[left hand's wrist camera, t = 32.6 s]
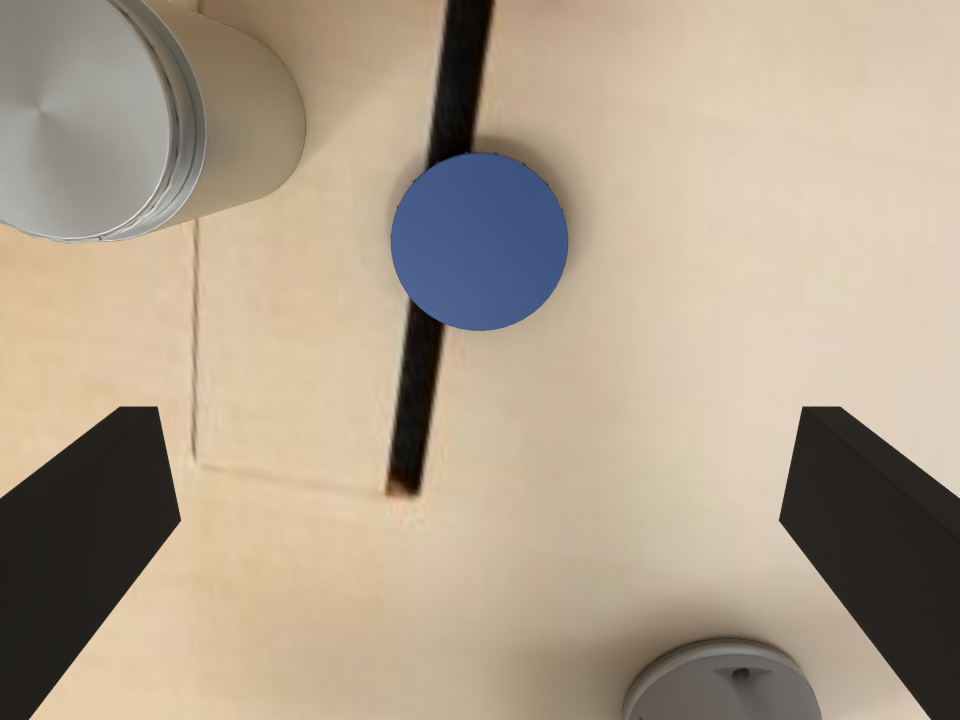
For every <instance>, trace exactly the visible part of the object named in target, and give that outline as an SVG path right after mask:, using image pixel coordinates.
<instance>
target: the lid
mask: <svg viewBox="0 0 960 720" xmlns="http://www.w3.org/2000/svg"><path fill="white" fill-rule="evenodd" d="M412 183H413V184H412V185H411V187H410V188H409V189H408V191H407V192H406V193H405V195H404V197H403V199H402V200H401V202H400V204H399V205H398V206H397V208H398V209H397V212H396V214H395V217H394V222H393V226H392V234H391V251H392V258H393V263H394V266H395V270H396V273H397V275H398V278H399V280H400V282H401V284H402V286H403V287H404V289H405V291H406V292H407V294H408V295H409V296H410V297H411V299H412V300H413V301H414V302H415V303H416V304H417V305H418V306H419V307H420V308H421V309H422V310H423V311H425V312H426V313H427V314H428V315H430V316H431V317H433V318H435V319H437V320H438V321H440V322H442V323H445V324H447V325H449V326H453V327H456V328H460V329H465V330H472V331H485V330H494V329H499V328H503V327H506V326H509V325H512V324H515V323H517V322H519V321H521V320H523V319H524V318H526V317H527V316H529V315H530V314H532V313H533V312H535V311H536V310H537V309H538V308H539V307H540V306H541V305H542V304H543V303H544V302H545V301H546V300H547V299H548V298H549V296H550V295H551V293H552V292H553V290H554V289H555V287H556V286H557V284H558V282H559V280H560V278H561V275H562V272H563V269H564V267H565V262H566V258H567V249H568V234H567V227H566V222H565V218H564V215H563V209H562V208H561V207H560V205H559V203H558V201H557V198H556V197H555V195H554V194H553V192H552V191H551V189H550V188H549V187H548V183H546V182H544V181H543V180H542V179H541V178H540V177H539V176H538V175H537V174H535V173H534V172H533V171H532V170H531V169H529V168H528V167H526V164H524V163H523V162H522V163H520V162H518V161H516V160H514V159H511V158H509V157H506V156H503V155H500V154H497V152H495V154H494V153H488V152H472V153H467V152H465V153H464V154H460V155H456V156H453V157H450V158H448V159H445V160H443V161H441V162H440V161H438V162H436V165H434V166H433V167H431V168H430V169H429V170H427V171H426V172H425V173H423V174H422V175H421V176H420V177H419V178H418V179H415V180H414V181H413V182H412Z"/></svg>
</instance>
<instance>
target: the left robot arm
mask: <svg viewBox="0 0 960 720" xmlns="http://www.w3.org/2000/svg"><path fill="white" fill-rule="evenodd" d="M180 521H181V518H180V513H179V508H178V503H177V498H176V493H175V489H174V484H173V479H172V474H171V469H170V465H169V460H168V455H167V450H166V445H165V440H164V436H163V431H162V426H161V421H160V416H159V411H158V407H119V408H117V409H116V410H115V411H113V412H112V413H111V414H110V415H108V416H107V417H106V418H104V419H103V420H102V421H100V422H99V423H98V424H96V425H95V426H94V427H93V428H91V429H90V430H89V431H87V432H86V433H85V434H83V435H82V436H81V437H80V438H78V439H77V440H76V441H74V442H73V443H72V444H70V445H69V446H68V447H67V448H65V449H64V450H63V451H61V452H60V453H59V454H57V455H56V456H55V457H54V458H52V459H51V460H50V461H48V462H47V463H46V464H44V465H43V466H42V467H41V468H39V469H38V470H37V471H35V472H34V473H33V474H31V475H30V476H29V477H28V478H26V479H25V480H24V481H22V482H21V483H20V484H18V485H17V486H16V487H15V488H13V489H12V490H11V491H9V492H8V493H7V494H5V495H4V496H3V497H2V498H0V720H29V719H30V718H31V716H32V715H33V714H34V712H35V711H36V710H37V708H38V707H39V706H40V704H41V703H42V702H43V701H44V699H45V698H46V697H47V695H48V694H49V693H50V691H51V690H52V689H53V687H54V686H55V685H56V684H57V682H58V681H59V680H60V678H61V677H62V676H63V674H64V673H65V672H66V670H67V669H68V668H69V667H70V665H71V664H72V663H73V661H74V660H75V659H76V657H77V656H78V655H79V653H80V652H81V651H82V650H83V648H84V647H85V646H86V644H87V643H88V642H89V640H90V639H91V638H92V636H93V635H94V634H95V633H96V631H97V630H98V629H99V627H100V626H101V625H102V623H103V622H104V621H105V619H106V618H107V617H108V616H109V614H110V613H111V612H112V610H113V609H114V608H115V606H116V605H117V604H118V602H119V601H120V600H121V599H122V597H123V596H124V595H125V593H126V592H127V591H128V589H129V588H130V587H131V585H132V584H133V583H134V582H135V580H136V579H137V578H138V576H139V575H140V574H141V572H142V571H143V570H144V568H145V567H146V566H147V565H148V563H149V562H150V561H151V559H152V558H153V557H154V555H155V554H156V553H157V551H158V550H159V549H160V548H161V546H162V545H163V544H164V542H165V541H166V540H167V538H168V537H169V536H170V534H171V533H172V532H173V531H174V529H175V528H176V527H177V525H178V524H179V523H180ZM779 521H780V523H781V524H782V525H783V527H784V528H785V529H786V531H787V532H788V533H789V534H790V536H791V537H792V538H793V540H794V541H795V542H796V544H797V545H798V546H799V548H800V549H801V550H802V551H803V553H804V554H805V555H806V557H807V558H808V559H809V561H810V562H811V563H812V565H813V566H814V567H815V568H816V570H817V571H818V572H819V574H820V575H821V576H822V578H823V579H824V580H825V582H826V583H827V584H828V585H829V587H830V588H831V589H832V591H833V592H834V593H835V595H836V596H837V597H838V599H839V600H840V601H841V602H842V604H843V605H844V606H845V608H846V609H847V610H848V612H849V613H850V614H851V616H852V617H853V618H854V619H855V621H856V622H857V623H858V625H859V626H860V627H861V629H862V630H863V631H864V633H865V634H866V635H867V636H868V638H869V639H870V640H871V642H872V643H873V644H874V646H875V647H876V648H877V650H878V651H879V652H880V653H881V655H882V656H883V657H884V659H885V660H886V661H887V663H888V664H889V665H890V667H891V668H892V669H893V670H894V672H895V673H896V674H897V676H898V677H899V678H900V680H901V681H902V682H903V684H904V685H905V686H906V687H907V689H908V690H909V691H910V693H911V694H912V695H913V697H914V698H915V699H916V701H917V702H918V703H919V704H920V706H921V707H922V708H923V710H924V711H925V712H926V714H927V715H928V716H929V718H930V719H931V720H960V498H958V497H957V496H956V495H955V494H953V493H952V492H951V491H949V490H948V489H947V488H945V487H944V486H943V485H942V484H940V483H939V482H938V481H936V480H935V479H934V478H932V477H931V476H930V475H929V474H927V473H926V472H925V471H923V470H922V469H921V468H919V467H918V466H917V465H916V464H914V463H913V462H912V461H910V460H909V459H908V458H906V457H905V456H904V455H903V454H901V453H900V452H899V451H897V450H896V449H895V448H893V447H892V446H891V445H890V444H888V443H887V442H886V441H884V440H883V439H882V438H880V437H879V436H878V435H877V434H875V433H874V432H873V431H871V430H870V429H869V428H867V427H866V426H865V425H864V424H862V423H861V422H860V421H858V420H857V419H856V418H854V417H853V416H852V415H850V414H849V413H848V412H847V411H845V410H844V409H843V408H841V407H802V411H801V416H800V421H799V426H798V431H797V436H796V440H795V445H794V450H793V455H792V460H791V465H790V469H789V474H788V479H787V484H786V489H785V493H784V498H783V503H782V508H781V513H780V518H779ZM623 720H822V718H821V713H820V708H819V705H818V703H817V700H816V697H815V694H814V692H813V690H812V688H811V686H810V685H809V683H808V681H807V680H806V678H805V676H804V675H803V673H802V671H801V670H800V668H799V667H798V666H797V665H796V664H795V663H794V661H792V660H791V659H790V658H789V657H788V656H786V655H785V654H783V653H782V652H780V651H779V650H777V649H775V648H773V647H770V646H768V645H765V644H762V643H759V642H754V641H750V640H743V639H714V640H707V641H701V642H697V643H693V644H690V645H687V646H684V647H681V648H679V649H676V650H674V651H672V652H670V653H668V654H666V655H664V656H663V657H661V658H660V659H658V660H657V661H655V662H654V663H652V664H651V665H650V666H649V667H648V668H646V669H645V670H644V671H643V672H642V673H641V674H640V675H639V677H638V678H637V679H636V680H635V682H634V683H633V685H632V686H631V688H630V690H629V692H628V694H627V696H626V699H625V702H624V707H623Z"/></svg>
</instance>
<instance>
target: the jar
mask: <svg viewBox="0 0 960 720" xmlns="http://www.w3.org/2000/svg"><path fill="white" fill-rule="evenodd" d="M305 135H306V120H305V111H304V107H303V102H302V99H301V96H300V93H299V90H298V88H297V85H296V83H295V81H294V79H293V77H292V76H291V74H290V73H289V71H288V69H287V68H286V66H285V65H284V64H283V63H282V61H281V60H280V59H279V58H278V57H277V56H276V55H275V54H274V53H273V52H272V51H271V50H270V49H269V48H268V47H267V46H265V45H264V44H263V43H261V42H260V41H259V40H257V39H255V38H254V37H252V36H250V35H249V34H246V33H244V32H242V31H239V30H237V29H235V28H232V27H230V26H227V25H225V24H222V23H220V22H218V21H215V20H213V19H210V18H208V17H205V16H203V15H201V14H198V13H196V12H193V11H191V10H188V9H186V8H184V7H181V6H179V5H176V4H174V3H171V2H169V1H167V0H0V222H1V224H4V225H6V226H9V227H11V228H13V229H16V230H18V231H20V232H23V233H25V234H28V235H30V236H32V237H33V238H39V239H44V240H50V241H56V242H62V243H66V244H70V243H82V242H94V241H98V242H108V241H120V240H127V239H132V238H135V237H138V236H142V235H145V234H148V233H151V232H154V231H158V230H161V229H164V228H167V227H170V226H174V225H177V224H180V223H183V222H186V221H190V220H193V219H196V218H199V217H202V216H206V215H209V214H212V213H215V212H218V211H222V210H225V209H228V208H231V207H234V206H237V205H241V204H244V203H247V202H250V201H253V200H257V199H260V198H262V197H264V196H266V195H269V194H270V193H272V192H273V191H275V190H276V189H278V188H279V187H280V186H281V185H282V184H283V183H284V182H285V181H286V180H287V179H288V178H289V177H290V175H291V174H292V173H293V171H294V169H295V168H296V166H297V164H298V162H299V159H300V157H301V154H302V151H303V147H304V142H305Z"/></svg>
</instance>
